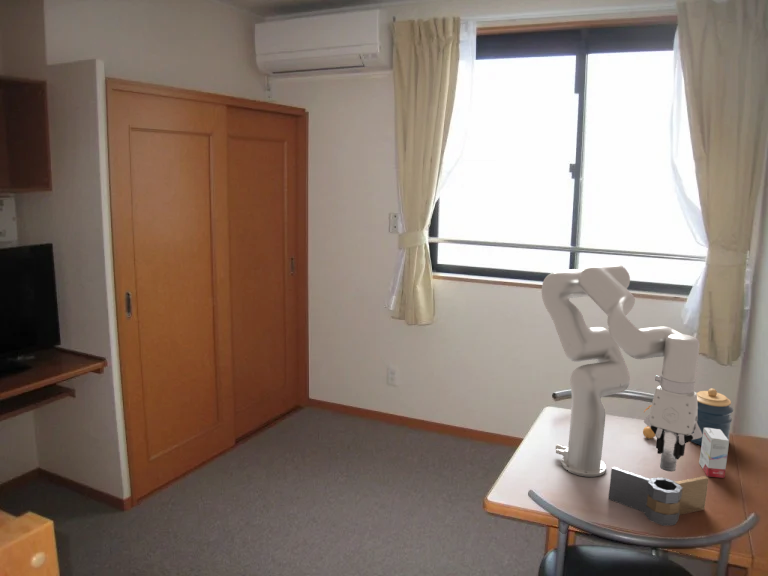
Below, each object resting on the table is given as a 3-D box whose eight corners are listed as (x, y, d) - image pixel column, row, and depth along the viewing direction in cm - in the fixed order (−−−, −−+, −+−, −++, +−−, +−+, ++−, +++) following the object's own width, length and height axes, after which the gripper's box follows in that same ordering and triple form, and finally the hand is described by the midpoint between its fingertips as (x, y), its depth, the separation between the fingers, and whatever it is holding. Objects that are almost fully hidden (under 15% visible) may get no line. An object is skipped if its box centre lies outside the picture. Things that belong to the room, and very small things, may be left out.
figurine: (634, 434, 211) (638, 400, 208) (647, 430, 213) (651, 397, 211) (654, 444, 203) (658, 409, 201) (667, 440, 206) (672, 406, 204)
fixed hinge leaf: (681, 516, 162) (685, 484, 160) (671, 528, 157) (676, 495, 155) (614, 492, 173) (617, 462, 171) (603, 503, 168) (607, 472, 166)
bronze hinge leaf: (660, 527, 157) (664, 494, 155) (639, 511, 164) (642, 480, 162) (713, 515, 163) (718, 484, 161) (691, 501, 170) (695, 470, 168)
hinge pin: (657, 468, 159) (663, 423, 156) (662, 463, 161) (667, 419, 159) (673, 473, 156) (678, 427, 154) (677, 467, 159) (682, 423, 157)
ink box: (725, 478, 182) (730, 440, 180) (706, 476, 183) (711, 438, 181) (716, 464, 191) (721, 428, 188) (698, 463, 191) (703, 426, 189)
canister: (710, 430, 215) (717, 381, 211) (737, 447, 203) (745, 395, 199) (676, 432, 213) (682, 382, 209) (700, 449, 200) (707, 397, 197)
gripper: (637, 380, 157) (630, 449, 161) (710, 397, 147) (700, 470, 150) (648, 373, 163) (640, 440, 166) (718, 389, 152) (709, 460, 156)
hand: (669, 453), depth 158 cm, fingers closed on hinge pin, 3 cm apart
